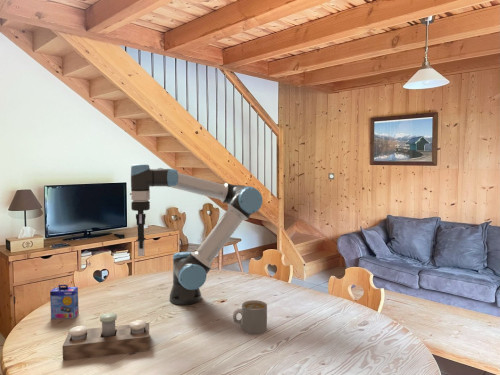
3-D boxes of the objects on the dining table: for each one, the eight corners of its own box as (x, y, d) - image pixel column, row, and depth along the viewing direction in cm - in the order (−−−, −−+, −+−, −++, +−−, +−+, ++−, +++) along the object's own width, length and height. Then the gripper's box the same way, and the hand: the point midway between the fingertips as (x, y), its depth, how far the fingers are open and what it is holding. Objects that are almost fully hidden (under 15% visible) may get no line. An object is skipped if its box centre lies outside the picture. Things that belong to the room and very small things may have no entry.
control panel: (149, 335, 145) (149, 322, 145) (149, 350, 134) (149, 336, 134) (70, 343, 138) (69, 330, 138) (62, 360, 127) (62, 346, 126)
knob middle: (117, 330, 139) (117, 312, 139) (116, 337, 134) (116, 318, 133) (101, 332, 138) (101, 313, 137) (99, 339, 132) (99, 319, 132)
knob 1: (88, 343, 137) (88, 325, 136) (86, 351, 131) (85, 331, 131) (71, 345, 135) (71, 326, 135) (68, 353, 130) (68, 333, 130)
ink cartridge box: (50, 319, 159) (49, 285, 158) (55, 314, 165) (54, 281, 164) (74, 318, 160) (73, 285, 159) (79, 313, 166) (78, 281, 165)
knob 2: (146, 337, 142) (145, 319, 142) (145, 344, 137) (145, 325, 136) (130, 339, 141) (130, 320, 140) (129, 346, 135) (129, 327, 135)
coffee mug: (267, 324, 156) (268, 300, 155) (265, 335, 146) (265, 310, 145) (235, 322, 158) (235, 299, 157) (231, 333, 148) (231, 308, 147)
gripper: (131, 199, 166) (132, 252, 167) (130, 202, 153) (131, 259, 155) (149, 199, 168) (150, 251, 169) (149, 202, 155) (150, 258, 157)
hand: (141, 255), depth 162 cm, fingers closed
